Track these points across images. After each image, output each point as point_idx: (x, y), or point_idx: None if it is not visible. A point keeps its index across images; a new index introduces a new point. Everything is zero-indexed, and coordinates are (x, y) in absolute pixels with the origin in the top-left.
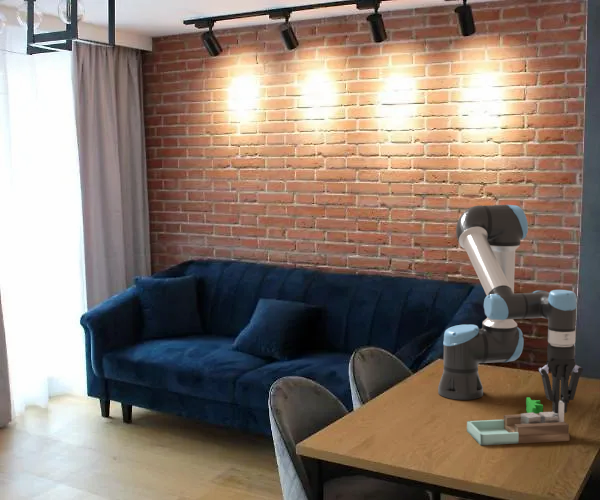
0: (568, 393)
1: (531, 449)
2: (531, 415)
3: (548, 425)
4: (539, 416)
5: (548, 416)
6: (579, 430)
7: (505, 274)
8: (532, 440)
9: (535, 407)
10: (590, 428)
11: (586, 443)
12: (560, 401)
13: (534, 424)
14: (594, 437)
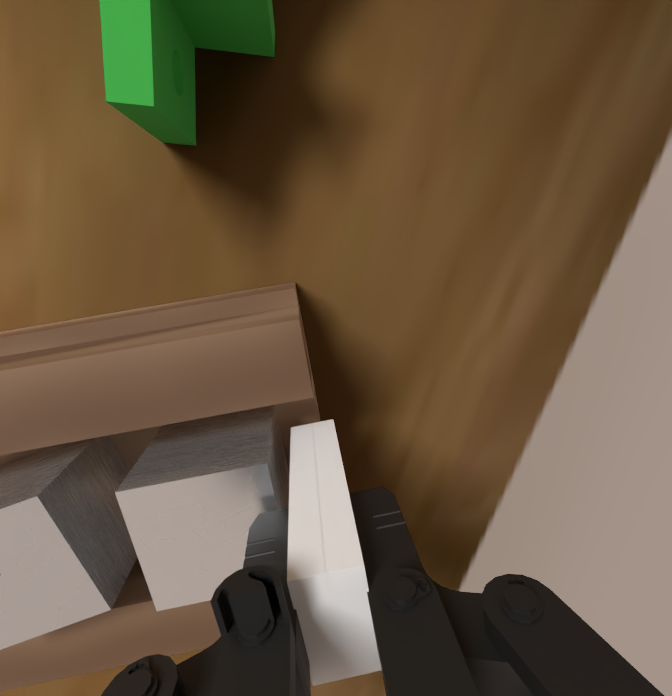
0: (542, 681)
1: (87, 678)
2: (14, 591)
3: (184, 647)
4: (97, 611)
5: (190, 603)
6: (474, 351)
7: None
8: None
9: (148, 78)
10: (564, 307)
11: (427, 567)
12: (352, 612)
13: (66, 638)
14: (513, 473)
